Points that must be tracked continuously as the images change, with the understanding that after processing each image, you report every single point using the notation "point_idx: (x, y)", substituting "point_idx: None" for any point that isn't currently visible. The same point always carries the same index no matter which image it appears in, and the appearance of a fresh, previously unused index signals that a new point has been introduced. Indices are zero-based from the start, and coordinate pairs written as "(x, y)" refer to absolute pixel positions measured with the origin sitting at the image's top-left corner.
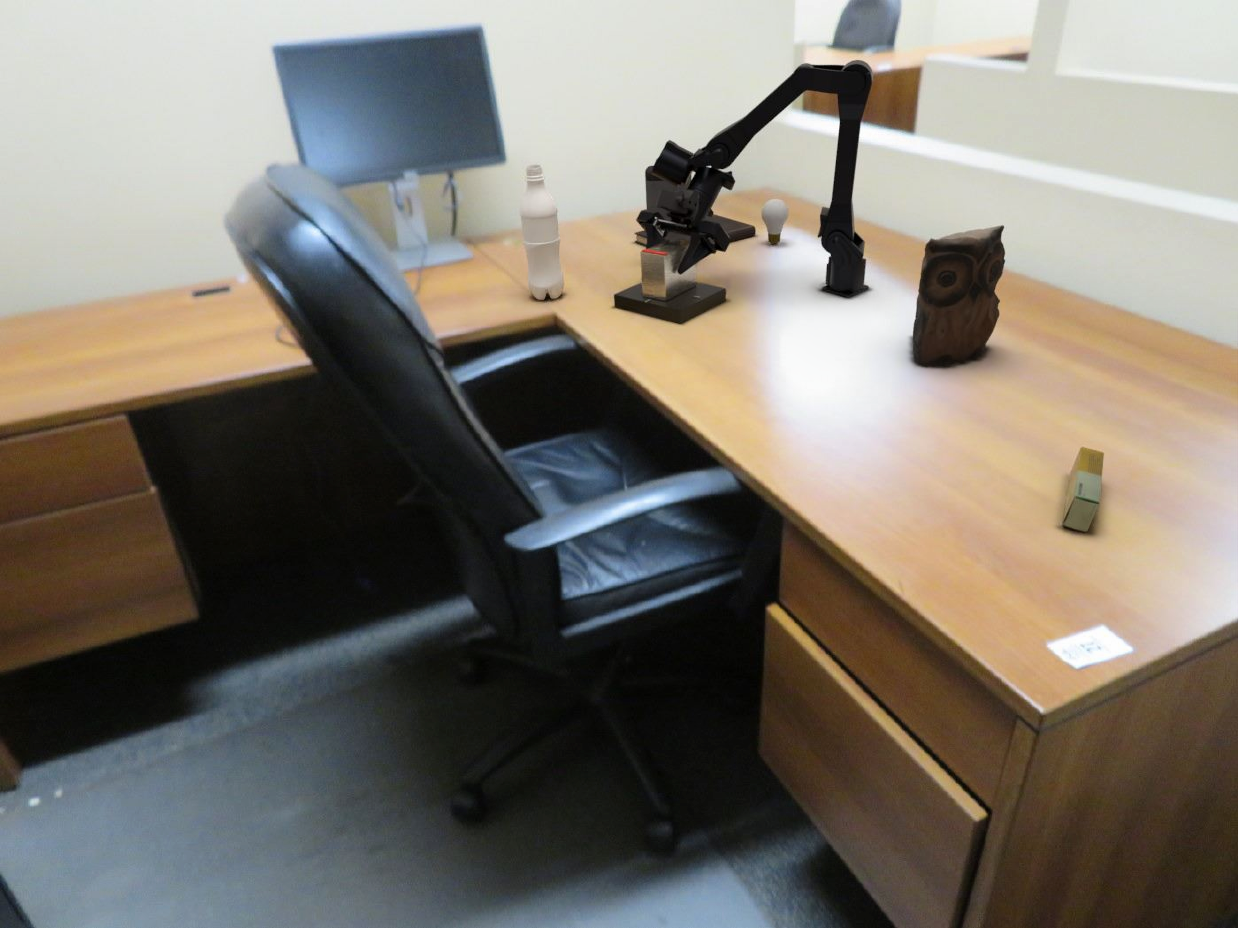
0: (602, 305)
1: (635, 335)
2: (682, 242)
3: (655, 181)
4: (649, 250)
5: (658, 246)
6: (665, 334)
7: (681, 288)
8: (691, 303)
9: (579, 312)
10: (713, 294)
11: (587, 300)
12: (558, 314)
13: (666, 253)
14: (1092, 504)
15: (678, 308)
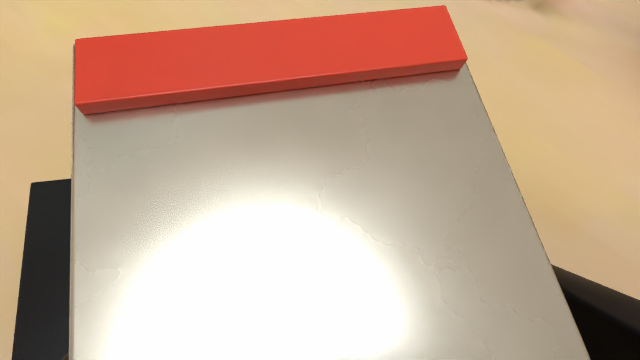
0: (507, 146)
1: (156, 28)
2: None
3: None
4: (368, 45)
5: (480, 291)
6: (56, 93)
7: None
8: (36, 303)
9: (494, 54)
10: None
11: (596, 146)
12: (522, 8)
13: (75, 87)
14: None
15: (60, 197)
